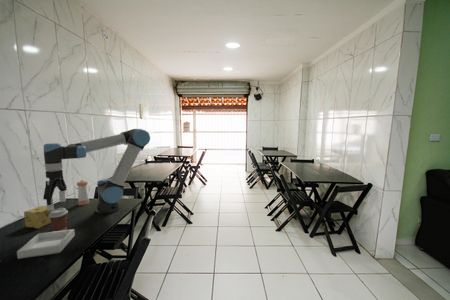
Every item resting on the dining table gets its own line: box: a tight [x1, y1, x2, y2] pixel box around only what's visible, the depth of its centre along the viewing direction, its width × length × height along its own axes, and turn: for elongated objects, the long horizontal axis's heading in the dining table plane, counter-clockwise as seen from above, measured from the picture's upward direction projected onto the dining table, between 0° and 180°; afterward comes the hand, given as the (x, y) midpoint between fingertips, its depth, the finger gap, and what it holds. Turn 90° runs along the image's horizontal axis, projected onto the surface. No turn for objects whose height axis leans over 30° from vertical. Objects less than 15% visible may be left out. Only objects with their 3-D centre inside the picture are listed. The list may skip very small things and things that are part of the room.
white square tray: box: [16, 228, 76, 260], centre depth 103 cm, size 17×17×4 cm
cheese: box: [23, 205, 52, 229], centre depth 126 cm, size 10×11×10 cm
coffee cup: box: [48, 207, 69, 232], centre depth 119 cm, size 9×9×12 cm
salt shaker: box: [76, 179, 90, 206], centre depth 158 cm, size 7×7×19 cm
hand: (56, 205), depth 118 cm, fingers open, 13 cm apart
